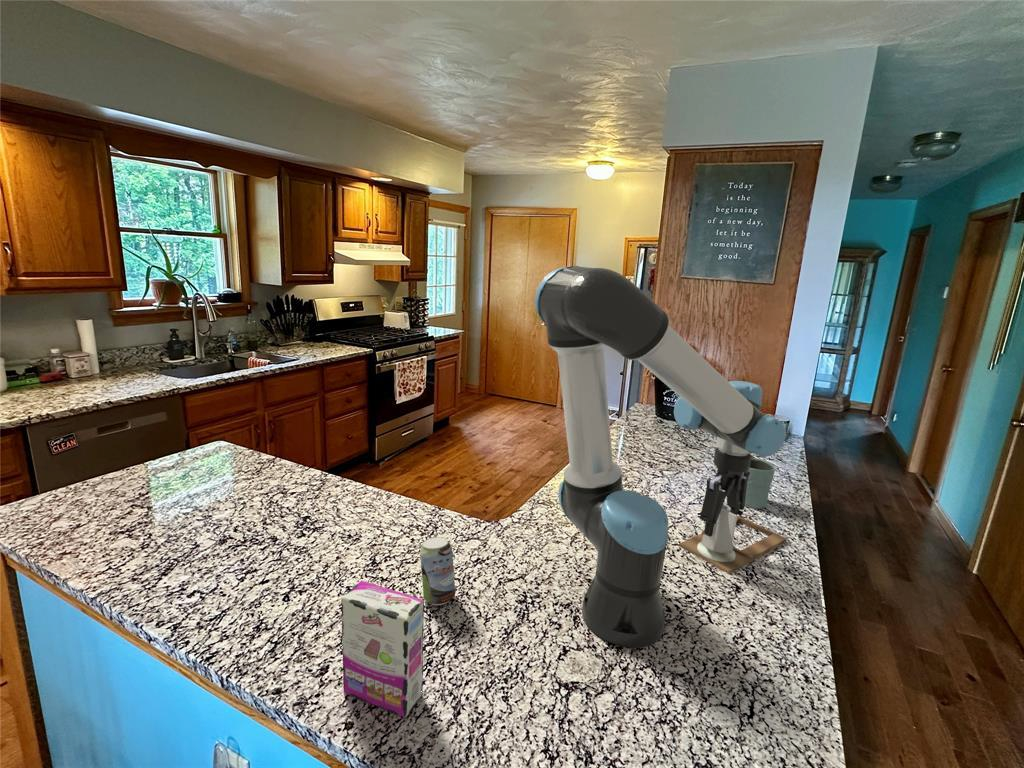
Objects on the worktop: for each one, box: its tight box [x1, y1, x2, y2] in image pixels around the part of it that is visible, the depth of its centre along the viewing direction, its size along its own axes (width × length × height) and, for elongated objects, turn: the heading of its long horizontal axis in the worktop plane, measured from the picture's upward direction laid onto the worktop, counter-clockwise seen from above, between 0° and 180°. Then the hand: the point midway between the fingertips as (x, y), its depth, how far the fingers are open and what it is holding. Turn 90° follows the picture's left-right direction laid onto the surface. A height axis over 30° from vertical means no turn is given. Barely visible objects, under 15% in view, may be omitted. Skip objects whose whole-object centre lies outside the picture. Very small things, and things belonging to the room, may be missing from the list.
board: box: [678, 515, 788, 574], centre depth 123 cm, size 26×13×1 cm, turn 126°
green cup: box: [745, 457, 776, 510], centre depth 145 cm, size 10×10×12 cm
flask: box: [701, 503, 734, 553], centre depth 116 cm, size 7×7×10 cm
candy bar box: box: [340, 580, 425, 719], centre depth 73 cm, size 11×5×16 cm, turn 69°
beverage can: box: [419, 536, 456, 606], centre depth 95 cm, size 6×7×12 cm
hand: (717, 542), depth 117 cm, fingers closed on flask, 7 cm apart
